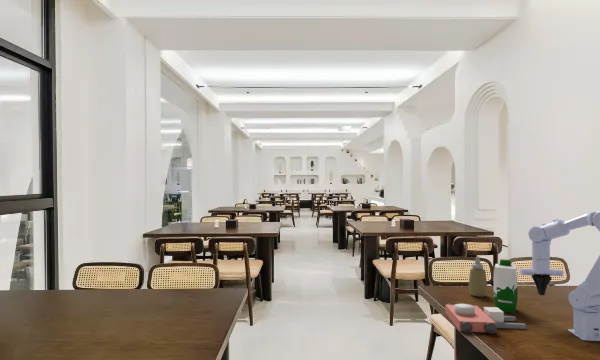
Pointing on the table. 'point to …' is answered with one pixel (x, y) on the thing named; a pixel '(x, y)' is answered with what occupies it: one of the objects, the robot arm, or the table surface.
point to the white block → (495, 314)
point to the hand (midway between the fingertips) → (541, 294)
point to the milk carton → (505, 286)
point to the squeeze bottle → (477, 279)
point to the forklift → (477, 319)
